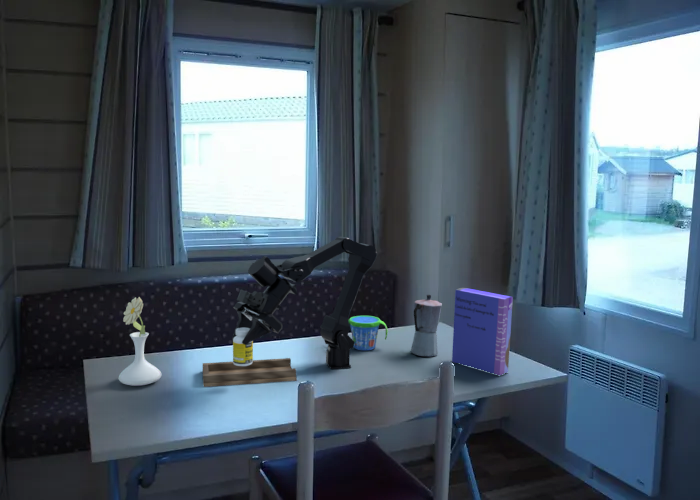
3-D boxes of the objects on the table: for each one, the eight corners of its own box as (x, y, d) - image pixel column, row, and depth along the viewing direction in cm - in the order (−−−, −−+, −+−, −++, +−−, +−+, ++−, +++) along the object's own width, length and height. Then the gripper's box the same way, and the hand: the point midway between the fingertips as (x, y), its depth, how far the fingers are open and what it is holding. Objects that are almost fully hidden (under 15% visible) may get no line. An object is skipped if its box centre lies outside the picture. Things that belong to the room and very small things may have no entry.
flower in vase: (118, 377, 172) (115, 291, 168) (159, 373, 176) (158, 289, 173) (119, 393, 160) (116, 301, 156) (163, 388, 164) (162, 299, 161)
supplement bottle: (247, 367, 163) (246, 332, 162) (229, 365, 165) (228, 330, 163) (256, 361, 168) (256, 327, 167) (239, 359, 170) (238, 325, 169)
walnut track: (289, 365, 185) (289, 357, 185) (296, 380, 173) (296, 371, 172) (202, 371, 179) (202, 362, 178) (203, 386, 166) (203, 377, 166)
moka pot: (446, 351, 204) (449, 293, 202) (427, 362, 192) (430, 301, 189) (421, 345, 209) (423, 289, 207) (400, 357, 197) (403, 297, 194)
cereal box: (507, 373, 184) (512, 296, 181) (499, 376, 181) (504, 298, 177) (460, 359, 196) (464, 287, 193) (451, 362, 193) (455, 288, 189)
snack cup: (338, 350, 202) (339, 321, 200) (345, 341, 212) (345, 313, 211) (384, 354, 199) (385, 324, 197) (388, 345, 209) (389, 317, 208)
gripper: (239, 273, 173) (204, 316, 168) (272, 284, 158) (234, 332, 153) (263, 297, 179) (230, 339, 174) (297, 309, 164) (262, 356, 159)
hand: (238, 341), depth 165 cm, fingers closed on supplement bottle, 5 cm apart
